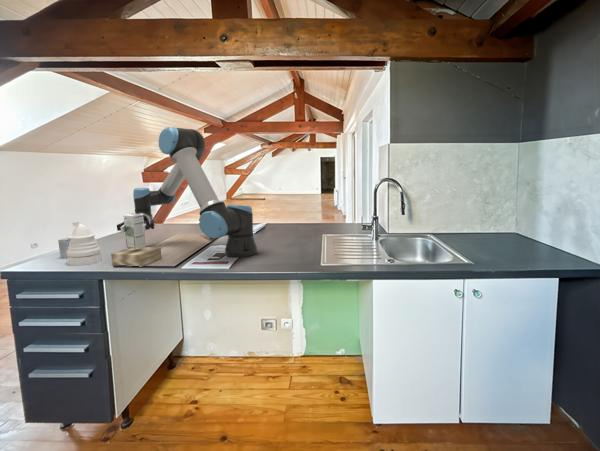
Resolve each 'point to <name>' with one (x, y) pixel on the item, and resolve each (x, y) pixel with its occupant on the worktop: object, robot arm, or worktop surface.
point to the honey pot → (83, 246)
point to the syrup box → (134, 231)
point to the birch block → (136, 256)
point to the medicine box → (63, 247)
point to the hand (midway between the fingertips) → (132, 229)
